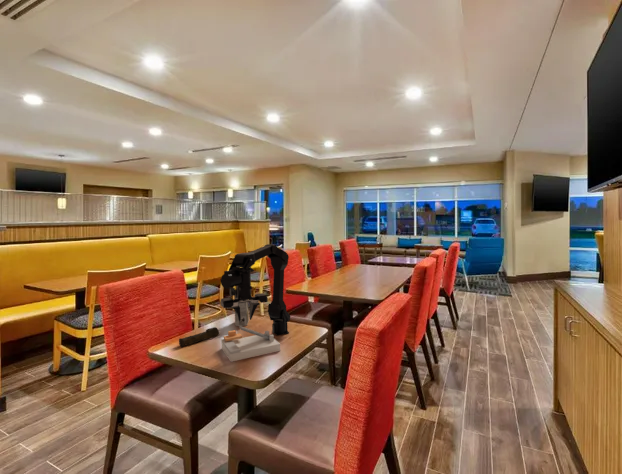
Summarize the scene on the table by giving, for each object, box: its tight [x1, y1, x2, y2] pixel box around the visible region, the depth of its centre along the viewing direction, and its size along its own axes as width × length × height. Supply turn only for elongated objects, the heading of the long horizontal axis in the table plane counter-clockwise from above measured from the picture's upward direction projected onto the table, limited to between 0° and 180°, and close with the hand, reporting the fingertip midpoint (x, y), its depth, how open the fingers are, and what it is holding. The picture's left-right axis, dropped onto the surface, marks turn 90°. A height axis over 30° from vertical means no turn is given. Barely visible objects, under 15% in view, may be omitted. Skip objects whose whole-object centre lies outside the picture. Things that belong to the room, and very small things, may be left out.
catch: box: [223, 329, 243, 341], centre depth 143 cm, size 7×4×3 cm, turn 118°
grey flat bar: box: [238, 326, 269, 339], centre depth 142 cm, size 15×4×1 cm, turn 119°
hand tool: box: [178, 326, 220, 348], centre depth 152 cm, size 19×4×5 cm, turn 134°
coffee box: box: [233, 296, 250, 327], centre depth 176 cm, size 9×6×16 cm
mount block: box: [220, 330, 281, 362], centre depth 141 cm, size 21×15×6 cm
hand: (245, 320), depth 139 cm, fingers open, 4 cm apart
